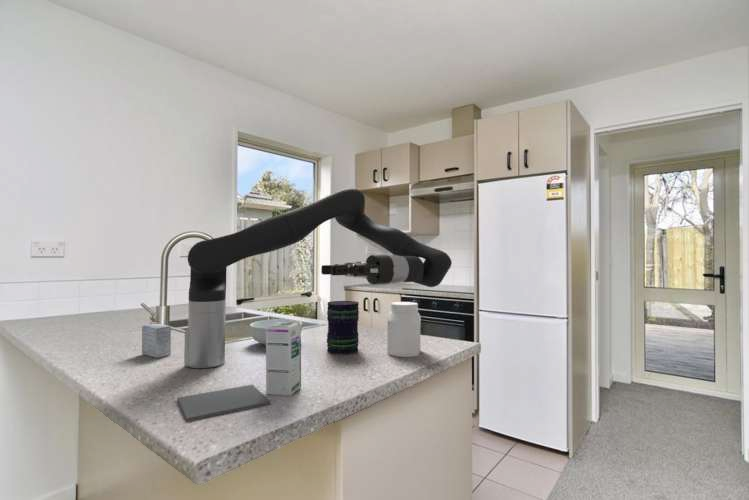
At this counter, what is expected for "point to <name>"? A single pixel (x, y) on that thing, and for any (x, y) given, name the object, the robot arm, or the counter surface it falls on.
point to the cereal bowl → (260, 328)
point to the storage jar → (342, 327)
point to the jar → (404, 330)
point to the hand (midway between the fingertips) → (327, 270)
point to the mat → (221, 402)
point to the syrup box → (283, 358)
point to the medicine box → (156, 340)
